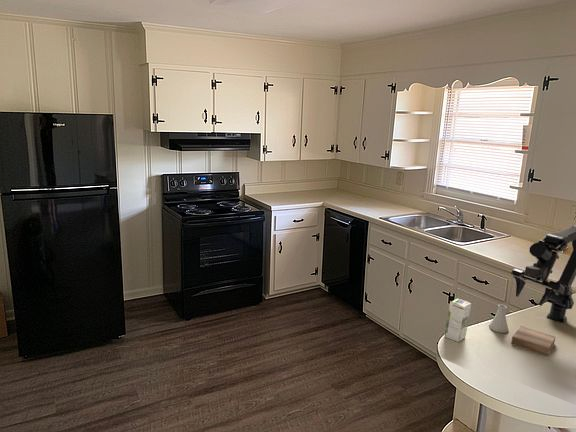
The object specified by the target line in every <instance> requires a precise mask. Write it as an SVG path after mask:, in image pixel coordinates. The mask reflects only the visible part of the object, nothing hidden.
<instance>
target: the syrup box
mask: <svg viewBox="0 0 576 432" xmlns="http://www.w3.org/2000/svg"><path fill="white" fill-rule="evenodd" d="M471 307H472V303H471V302H469V301H466V300H463V299H460V298H455V299H454V300H452V301H450V303H449V307H448V312H447V319H446V326H445V331H444V337H445V338H446V339H449V340H452V341H454V342H457V343H459V342H461V341H462V340H464V339H465V338H466V335H467V329H468V324H469V318H470V313H471V312H470V311H471Z"/></svg>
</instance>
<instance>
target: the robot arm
mask: <svg viewBox="0 0 576 432" xmlns="http://www.w3.org/2000/svg"><path fill="white" fill-rule="evenodd" d="M570 243H571V245H572V251H571V254H570V256H569V258H568V260H567V262H566V264H565V267H564V269H563V271H562V273H561V275H560V277H559V280H557V281H552V280H550V281H549V280H548V279H549V276H550V274H552V273H553V267H554V266H555V264H556V261H557V260H559V258H560V256H559V254H558V253H559V252H560V253H561V252H563V251H564V250H566V249H567V248H568V245H569V244H570ZM529 253H530V255H531V256H533V258H535V259H536V260H537V261H536V262H534V263H533V265H531V266H530V265H526V266H525V269H524V271H523V270H520V269H517V268H513V269H512V270H511V273H510V275H512V277H513V279H515V285H516V286H515V287H516V288H515V297H517V298H519V296H520V295H521V293H522V291H523V288H525V285H526V280H527V281H528V282H532V283H535V284H538V285H541V286H544V287H545V288H544V293H543V295H542V297H541V299H540V300H539V303H538V305H539V307H541V306H543V305H544V304H545V303H550V304H551V305H550V310H549V313H548V314H547V315H546V318H547V319H550V320H553V321H557V322H561V323H565V321H566V320H567V318H568V317H567V316H566V312H567V310H572V309H573V307H574V305H575V304H574V303H575V302H574V299H573V297H572V295H573V289H572V288H573V287H572V284H573V283H574V281H575V278H576V224H573V225H572V226H571V227H569V228H567V229H565V230H563V231H561V232H551V233H547V234H546V235H545V236H544V237H543V238H541V239H539V240H538V242H535V243H532V244H531V245H530V247H529Z"/></svg>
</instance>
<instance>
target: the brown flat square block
mask: <svg viewBox="0 0 576 432" xmlns="http://www.w3.org/2000/svg"><path fill="white" fill-rule="evenodd" d="M511 337H512V338H511V342H510V343H511V344H512V345H513V344H514V346H517V347H519V346H520V348H522V347H523V349H525V348H526V349H525V350H528V349H529V350H528V351H531V352H534V353H536V354H541V355H543V356H546V357H547V356H549V354H550V352H551V350H552V349H551V348H553V347H554V346H555V341H556V336H554V335H551V334H547V333H545V332H541V331H540V330H539V331H538V330H535V329H532V328H528V327H525V326H524V325H523V326H522V325H520V327H518V328H517V330H516V331H515V332H514V333H513V335H512V336H511Z"/></svg>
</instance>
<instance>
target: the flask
mask: <svg viewBox="0 0 576 432" xmlns="http://www.w3.org/2000/svg"><path fill="white" fill-rule="evenodd" d="M497 306H498V309H497V312H496V314H495V316H494V317H493V318H492V320H491V321H490V323H489V324H488V327H489V329H490V330H491V331H493V332H495V333H502V334H506V333H510V332H509V327H508V323H507V316H506V315H507V314H506V311H507V309H508V307H507V305H505V304H497Z"/></svg>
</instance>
